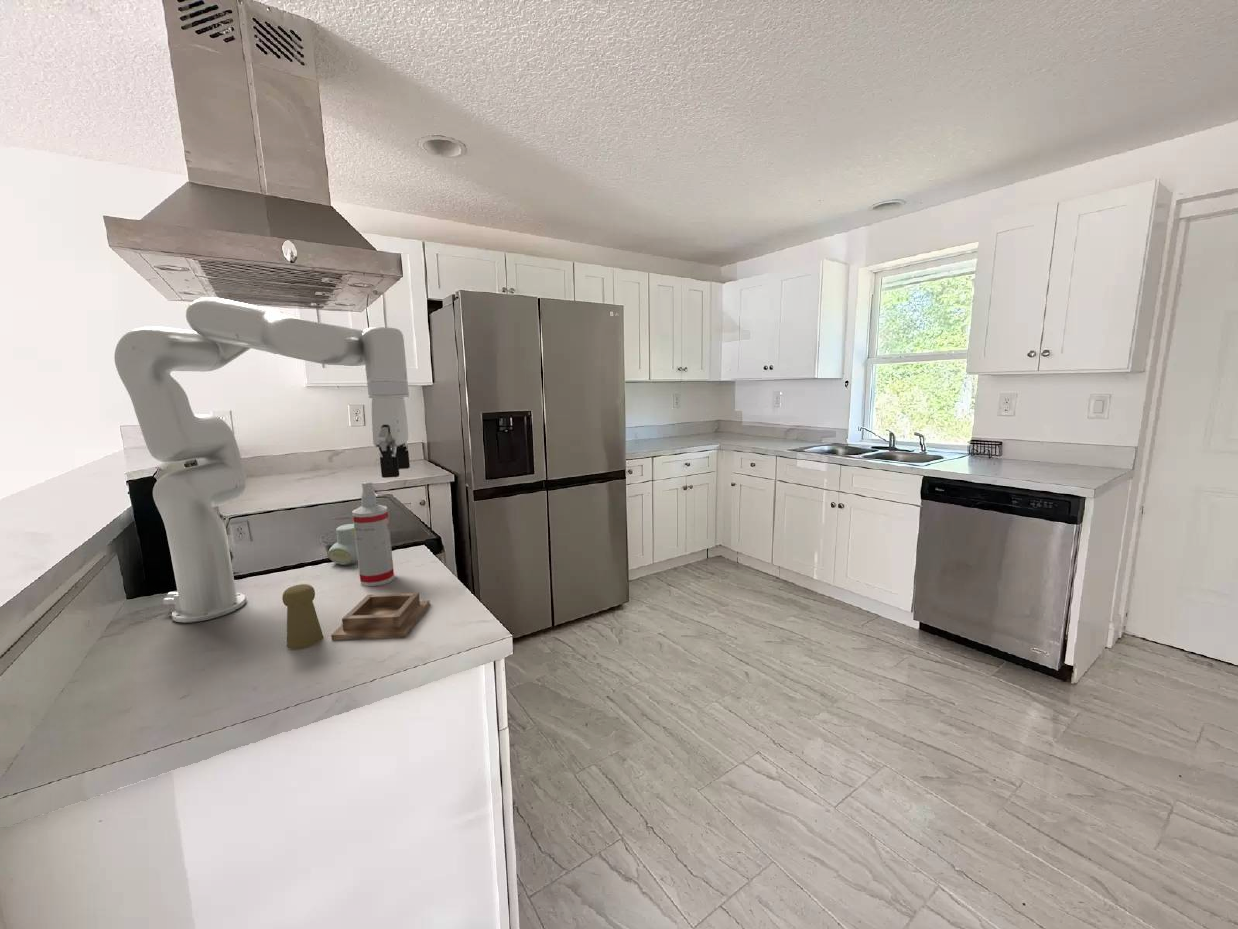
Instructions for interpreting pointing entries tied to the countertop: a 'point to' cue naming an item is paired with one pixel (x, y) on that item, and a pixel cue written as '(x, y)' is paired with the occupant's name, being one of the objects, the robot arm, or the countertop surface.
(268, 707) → the countertop surface
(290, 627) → the cork
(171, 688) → the countertop surface
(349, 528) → the pale green rounded piece
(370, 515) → the white squeeze bottle
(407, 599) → the walnut holder
